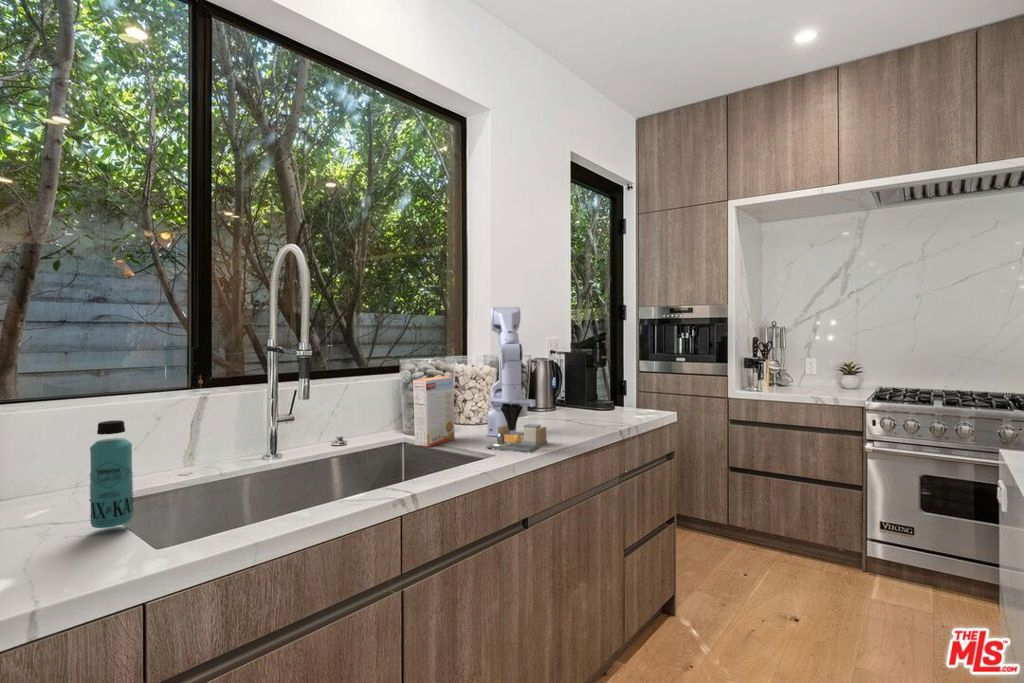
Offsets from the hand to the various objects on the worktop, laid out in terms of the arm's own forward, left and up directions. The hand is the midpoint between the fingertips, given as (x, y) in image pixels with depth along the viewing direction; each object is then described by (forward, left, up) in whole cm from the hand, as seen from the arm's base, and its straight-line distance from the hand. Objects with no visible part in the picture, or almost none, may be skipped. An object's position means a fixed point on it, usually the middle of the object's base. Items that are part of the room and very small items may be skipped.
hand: (511, 429), depth 165 cm
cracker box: (-28, +2, -7) cm, 29 cm away
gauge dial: (-5, +4, -6) cm, 9 cm away
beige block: (+2, +11, -5) cm, 12 cm away
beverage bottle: (-40, -88, -7) cm, 97 cm away
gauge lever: (-1, +3, -4) cm, 5 cm away
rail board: (-1, +7, -6) cm, 10 cm away
